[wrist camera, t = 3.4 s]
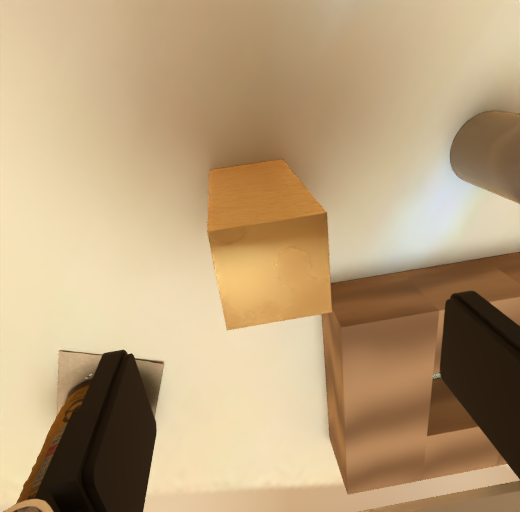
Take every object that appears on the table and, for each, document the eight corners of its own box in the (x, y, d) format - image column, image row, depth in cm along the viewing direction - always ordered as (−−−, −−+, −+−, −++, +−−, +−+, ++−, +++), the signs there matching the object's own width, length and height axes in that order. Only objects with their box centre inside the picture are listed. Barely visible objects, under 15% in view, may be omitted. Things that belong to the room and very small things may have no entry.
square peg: (209, 170, 23) (207, 231, 14) (282, 159, 23) (327, 212, 14) (221, 237, 25) (227, 330, 16) (288, 226, 25) (331, 312, 16)
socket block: (319, 285, 27) (341, 327, 22) (561, 245, 28) (628, 278, 23) (329, 439, 34) (347, 494, 29) (522, 403, 35) (568, 451, 30)
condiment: (56, 433, 30) (-30, 631, 19) (59, 349, 27) (-43, 532, 16) (150, 440, 32) (118, 628, 21) (164, 361, 28) (134, 536, 18)
